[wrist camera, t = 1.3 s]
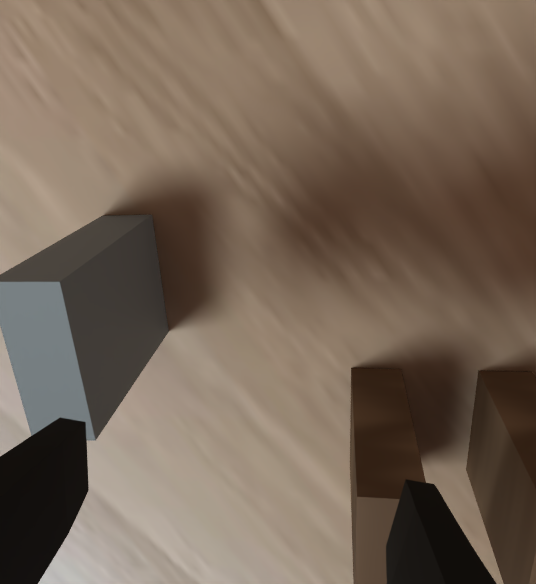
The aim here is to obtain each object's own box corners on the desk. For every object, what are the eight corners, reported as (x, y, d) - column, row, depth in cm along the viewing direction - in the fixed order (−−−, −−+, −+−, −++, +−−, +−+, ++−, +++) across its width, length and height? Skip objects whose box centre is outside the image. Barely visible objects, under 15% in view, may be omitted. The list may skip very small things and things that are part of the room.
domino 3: (531, 371, 20) (625, 511, 13) (514, 471, 22) (588, 636, 15) (478, 370, 20) (544, 507, 14) (466, 469, 22) (518, 630, 16)
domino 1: (151, 214, 19) (59, 281, 13) (168, 331, 21) (95, 440, 15) (102, 215, 20) (-12, 282, 13) (123, 330, 21) (32, 437, 15)
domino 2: (401, 369, 20) (429, 500, 14) (395, 466, 22) (418, 621, 16) (351, 368, 21) (357, 496, 14) (350, 464, 23) (354, 615, 16)
